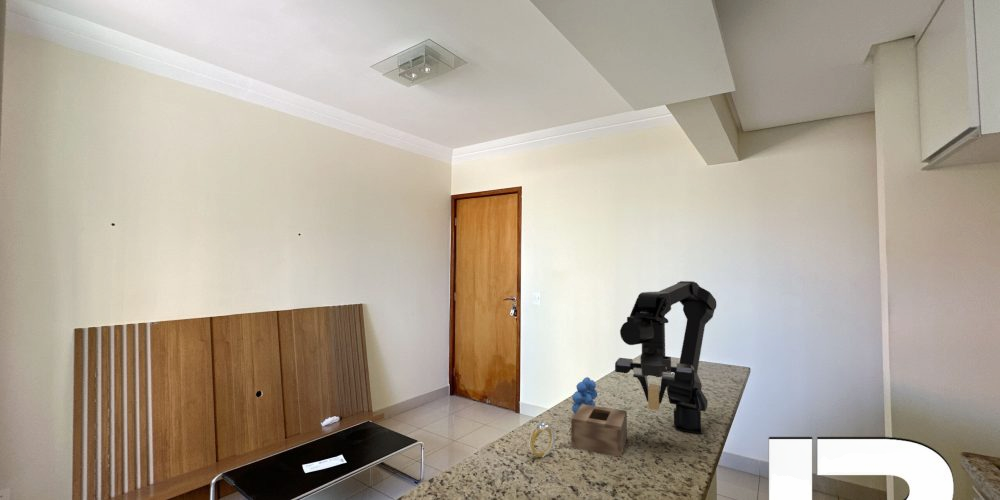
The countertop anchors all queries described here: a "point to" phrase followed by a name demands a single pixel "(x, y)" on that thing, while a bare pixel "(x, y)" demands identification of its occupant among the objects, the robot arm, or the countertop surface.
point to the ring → (535, 435)
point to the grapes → (584, 394)
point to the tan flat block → (653, 396)
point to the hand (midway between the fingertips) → (654, 402)
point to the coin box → (599, 429)
